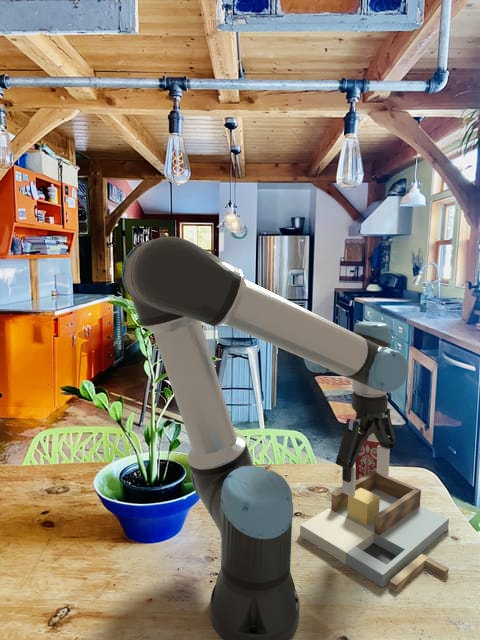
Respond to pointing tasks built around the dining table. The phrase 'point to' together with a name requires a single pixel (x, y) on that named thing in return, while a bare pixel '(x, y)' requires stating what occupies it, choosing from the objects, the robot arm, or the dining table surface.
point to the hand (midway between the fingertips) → (366, 483)
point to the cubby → (388, 485)
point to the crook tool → (416, 571)
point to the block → (363, 506)
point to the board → (375, 539)
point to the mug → (367, 457)
